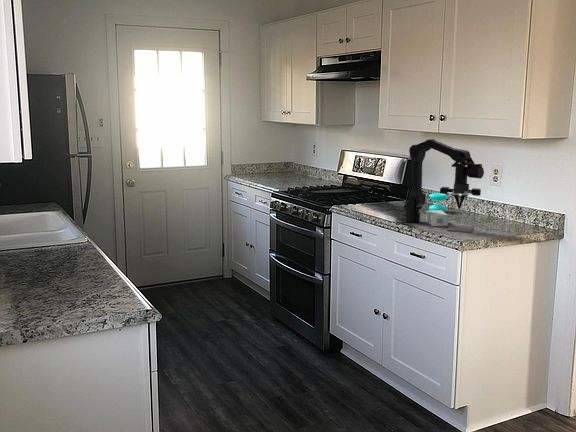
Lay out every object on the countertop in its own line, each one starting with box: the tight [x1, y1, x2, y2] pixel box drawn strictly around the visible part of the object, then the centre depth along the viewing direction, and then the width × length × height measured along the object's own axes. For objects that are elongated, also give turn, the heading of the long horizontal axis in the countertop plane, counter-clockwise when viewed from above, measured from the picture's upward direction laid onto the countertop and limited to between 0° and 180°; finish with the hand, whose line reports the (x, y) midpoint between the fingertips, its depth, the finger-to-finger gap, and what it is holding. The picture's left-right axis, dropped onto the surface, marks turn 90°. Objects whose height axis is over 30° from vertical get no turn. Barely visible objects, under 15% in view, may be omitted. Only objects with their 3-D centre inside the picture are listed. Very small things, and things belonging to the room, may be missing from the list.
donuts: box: [428, 192, 449, 213], centre depth 343 cm, size 10×10×10 cm
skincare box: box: [425, 209, 449, 227], centre depth 305 cm, size 8×6×15 cm
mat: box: [446, 224, 474, 234], centre depth 293 cm, size 11×14×1 cm
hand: (459, 208), depth 291 cm, fingers closed
